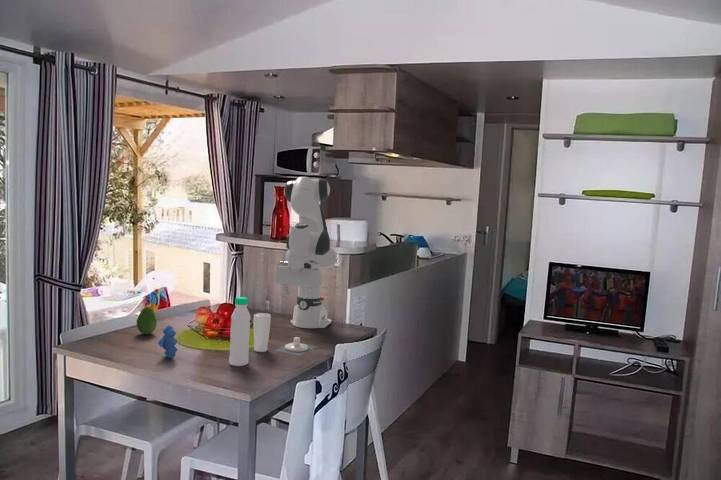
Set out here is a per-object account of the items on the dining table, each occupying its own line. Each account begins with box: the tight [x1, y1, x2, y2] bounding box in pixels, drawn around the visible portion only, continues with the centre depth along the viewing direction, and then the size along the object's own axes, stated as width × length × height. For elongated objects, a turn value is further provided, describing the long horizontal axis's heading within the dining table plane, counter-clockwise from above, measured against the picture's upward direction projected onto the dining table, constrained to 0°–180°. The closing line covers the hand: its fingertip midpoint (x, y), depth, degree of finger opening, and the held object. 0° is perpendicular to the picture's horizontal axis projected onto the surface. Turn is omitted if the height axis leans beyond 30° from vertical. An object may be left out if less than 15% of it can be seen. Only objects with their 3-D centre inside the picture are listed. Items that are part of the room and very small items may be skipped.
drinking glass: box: [252, 312, 272, 353], centre depth 221 cm, size 7×7×15 cm
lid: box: [284, 336, 308, 352], centre depth 227 cm, size 10×10×4 cm
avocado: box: [136, 306, 157, 336], centre depth 235 cm, size 8×8×12 cm
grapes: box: [157, 324, 178, 360], centre depth 205 cm, size 12×7×12 cm, turn 35°
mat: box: [273, 341, 318, 357], centre depth 227 cm, size 16×12×1 cm
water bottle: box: [228, 296, 251, 367], centre depth 203 cm, size 7×7×25 cm
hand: (297, 296), depth 226 cm, fingers open, 8 cm apart
